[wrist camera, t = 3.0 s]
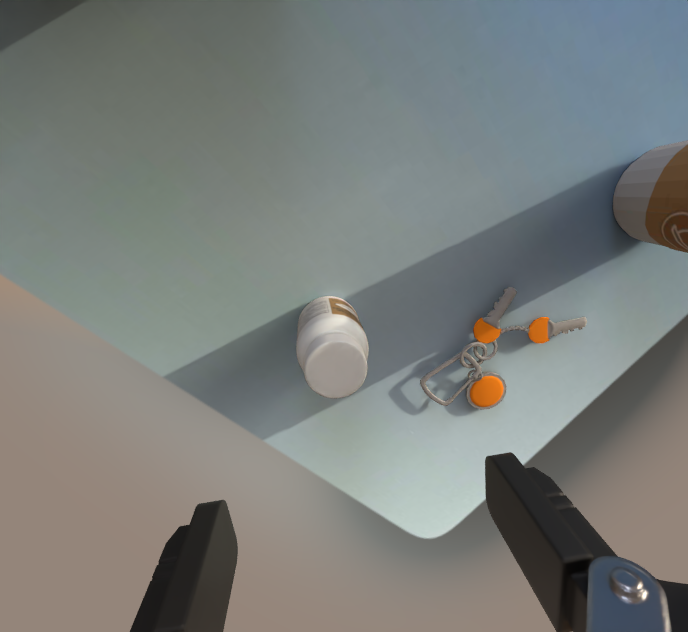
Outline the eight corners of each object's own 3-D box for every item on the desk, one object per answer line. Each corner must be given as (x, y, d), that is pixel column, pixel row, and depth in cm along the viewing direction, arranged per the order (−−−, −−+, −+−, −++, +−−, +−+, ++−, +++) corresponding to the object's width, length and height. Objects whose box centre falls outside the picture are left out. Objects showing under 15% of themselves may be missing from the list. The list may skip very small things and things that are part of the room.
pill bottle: (369, 330, 28) (391, 378, 21) (320, 362, 29) (325, 420, 21) (336, 282, 27) (348, 316, 20) (286, 316, 27) (278, 362, 20)
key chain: (463, 429, 31) (467, 435, 31) (406, 373, 29) (409, 378, 29) (589, 324, 30) (597, 328, 29) (537, 257, 27) (544, 259, 27)
